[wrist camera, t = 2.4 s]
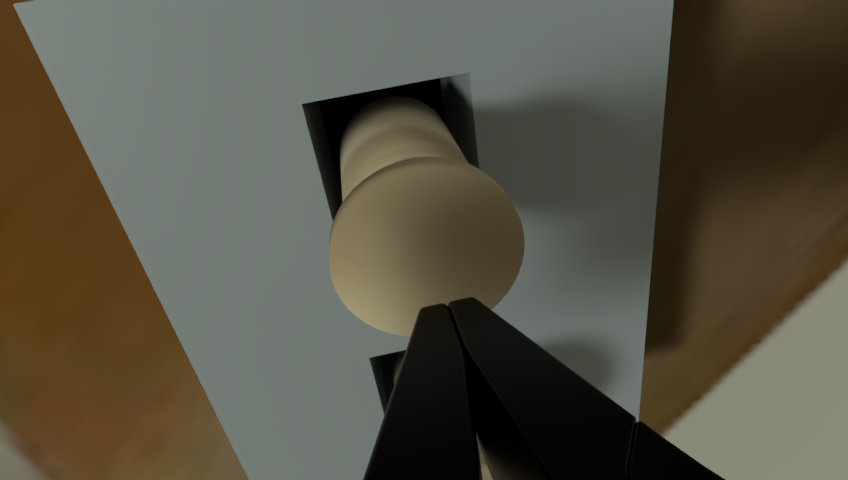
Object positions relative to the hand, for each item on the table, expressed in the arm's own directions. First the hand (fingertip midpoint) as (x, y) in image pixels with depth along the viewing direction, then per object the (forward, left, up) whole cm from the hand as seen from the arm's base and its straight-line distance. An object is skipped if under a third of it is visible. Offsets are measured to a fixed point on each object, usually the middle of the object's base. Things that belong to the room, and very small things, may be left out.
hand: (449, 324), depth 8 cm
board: (-4, 0, -11) cm, 12 cm away
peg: (0, 0, -7) cm, 7 cm away
